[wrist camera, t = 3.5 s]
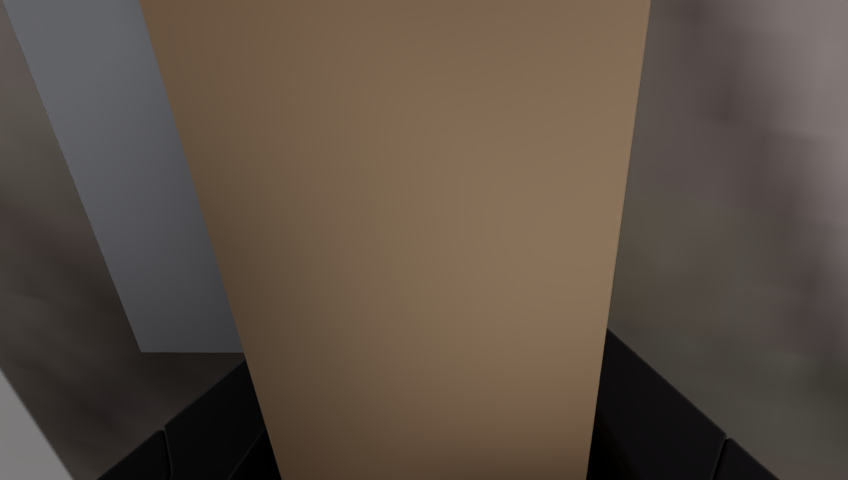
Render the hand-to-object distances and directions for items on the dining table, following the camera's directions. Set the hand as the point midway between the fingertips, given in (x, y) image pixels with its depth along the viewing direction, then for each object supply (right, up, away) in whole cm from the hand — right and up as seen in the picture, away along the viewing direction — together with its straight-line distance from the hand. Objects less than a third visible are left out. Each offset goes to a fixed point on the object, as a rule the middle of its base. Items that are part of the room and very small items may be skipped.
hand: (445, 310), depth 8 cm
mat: (-9, +3, +11) cm, 15 cm away
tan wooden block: (0, +1, +1) cm, 1 cm away
